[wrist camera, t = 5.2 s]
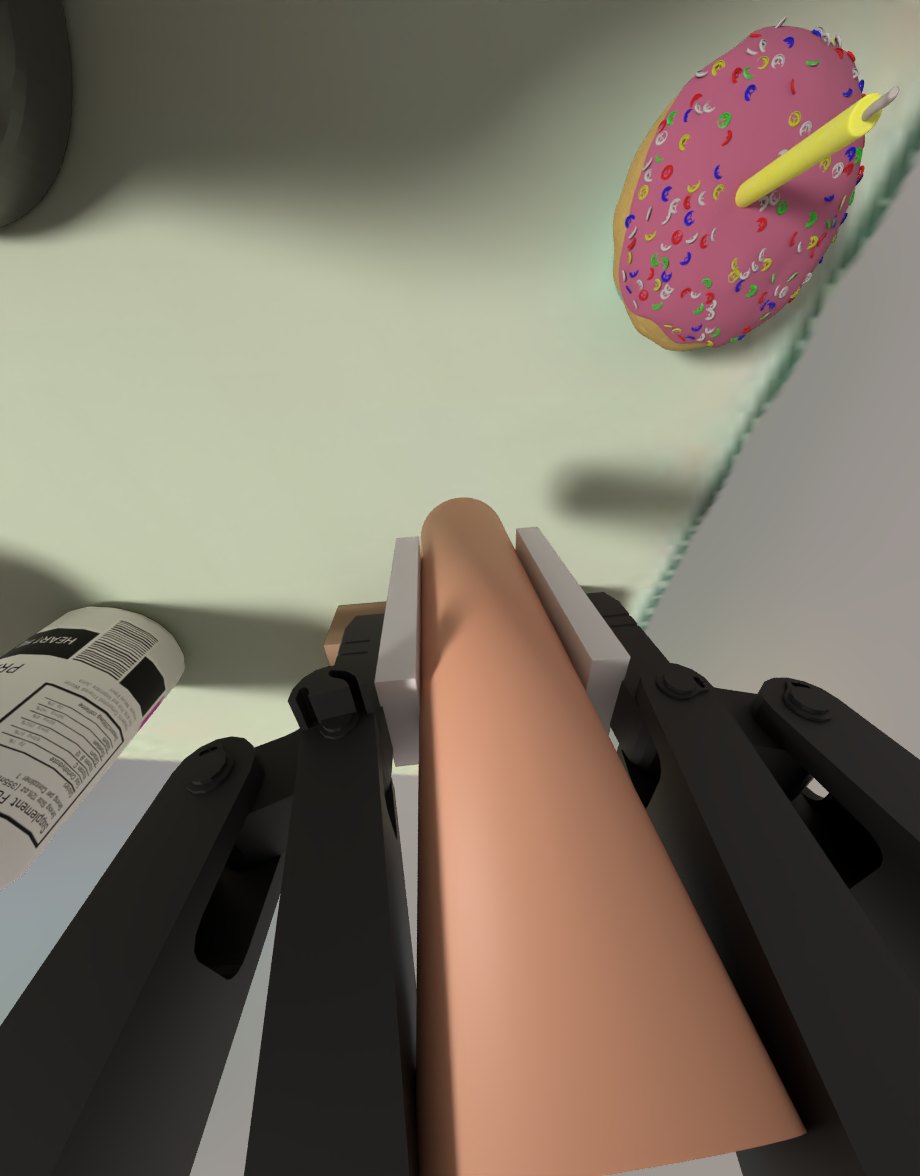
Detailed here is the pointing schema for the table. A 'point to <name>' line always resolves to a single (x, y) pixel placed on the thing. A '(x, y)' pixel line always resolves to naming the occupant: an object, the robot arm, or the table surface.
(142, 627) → the supplement can
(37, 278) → the table surface
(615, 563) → the table surface
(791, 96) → the cupcake
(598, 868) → the dowel pin
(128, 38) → the table surface
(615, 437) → the table surface
